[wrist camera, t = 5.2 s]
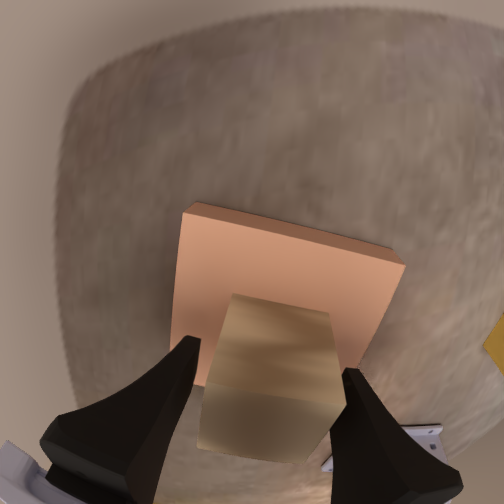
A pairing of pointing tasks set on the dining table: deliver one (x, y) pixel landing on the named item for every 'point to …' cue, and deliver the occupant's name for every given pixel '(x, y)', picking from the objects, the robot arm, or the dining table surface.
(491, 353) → the mustard block
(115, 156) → the dining table surface
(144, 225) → the dining table surface
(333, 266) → the riser
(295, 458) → the beech block
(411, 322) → the dining table surface
